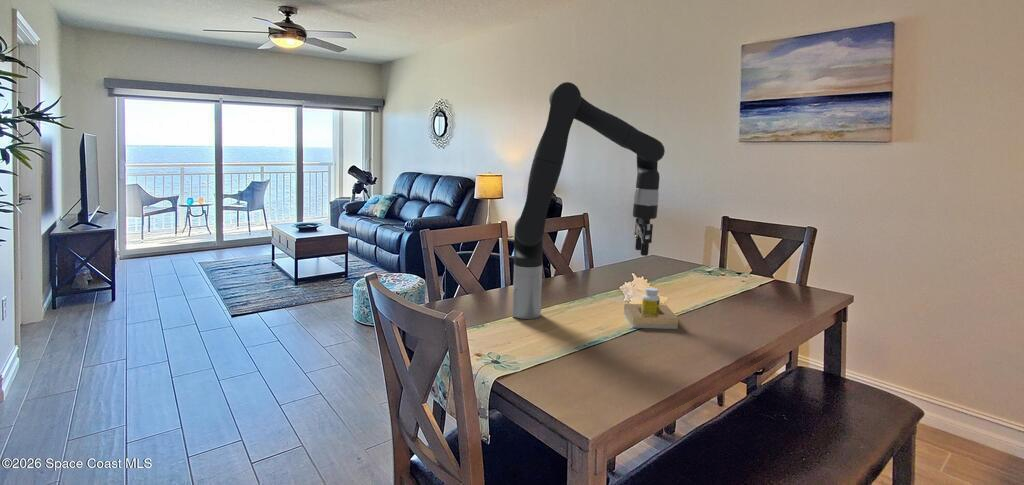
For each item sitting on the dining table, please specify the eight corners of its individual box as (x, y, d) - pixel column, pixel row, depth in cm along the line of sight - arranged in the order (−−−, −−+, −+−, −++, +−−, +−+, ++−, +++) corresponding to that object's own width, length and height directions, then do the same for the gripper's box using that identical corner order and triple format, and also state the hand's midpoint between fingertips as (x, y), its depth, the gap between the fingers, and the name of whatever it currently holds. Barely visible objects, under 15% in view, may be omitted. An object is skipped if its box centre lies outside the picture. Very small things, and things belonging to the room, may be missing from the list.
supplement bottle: (658, 321, 174) (660, 291, 172) (641, 319, 175) (643, 290, 173) (657, 316, 179) (659, 287, 178) (640, 314, 180) (642, 286, 179)
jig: (632, 327, 171) (633, 317, 170) (623, 313, 184) (624, 303, 184) (677, 328, 171) (678, 318, 170) (665, 314, 184) (665, 304, 184)
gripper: (629, 200, 181) (625, 247, 184) (638, 204, 167) (634, 256, 170) (652, 201, 181) (647, 248, 184) (663, 206, 167) (658, 257, 170)
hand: (641, 252), depth 177 cm, fingers open, 8 cm apart
